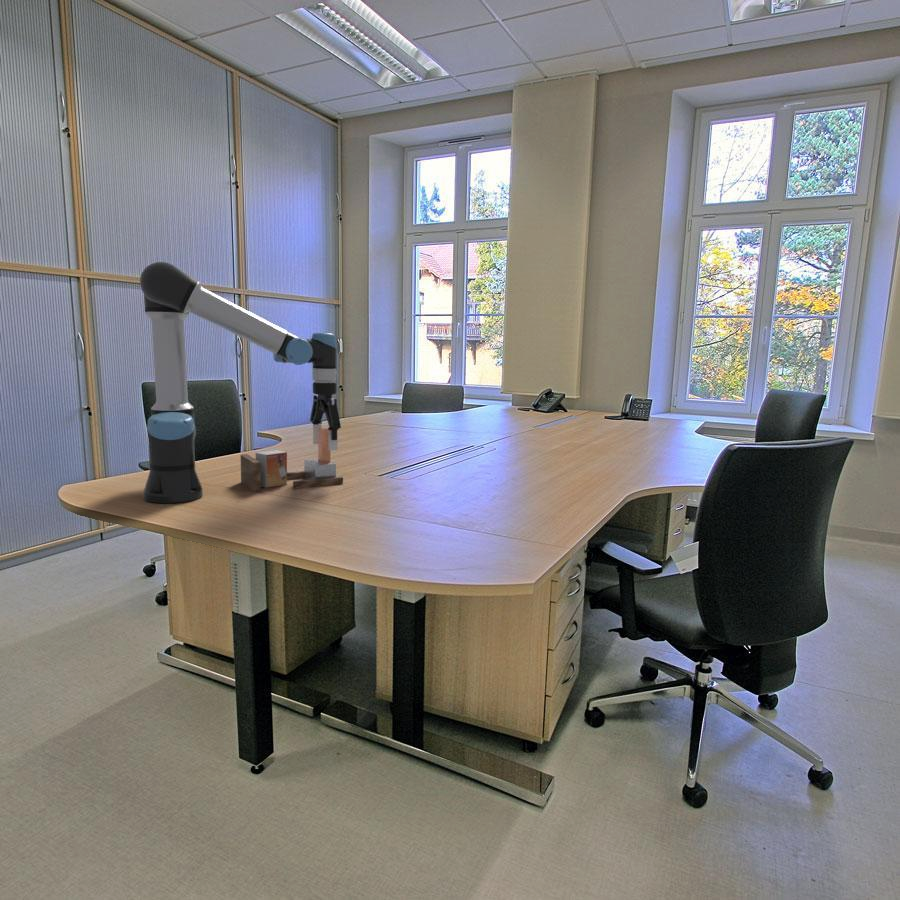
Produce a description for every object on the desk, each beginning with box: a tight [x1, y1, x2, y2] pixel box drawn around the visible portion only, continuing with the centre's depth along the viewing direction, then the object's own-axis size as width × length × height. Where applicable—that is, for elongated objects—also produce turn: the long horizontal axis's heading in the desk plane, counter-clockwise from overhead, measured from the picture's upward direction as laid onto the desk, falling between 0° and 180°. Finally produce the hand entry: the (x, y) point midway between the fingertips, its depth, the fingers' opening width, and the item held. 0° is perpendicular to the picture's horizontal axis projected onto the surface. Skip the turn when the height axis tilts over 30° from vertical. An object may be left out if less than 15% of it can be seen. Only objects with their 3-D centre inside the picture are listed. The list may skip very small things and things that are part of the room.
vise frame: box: [240, 453, 344, 493], centre depth 192 cm, size 28×15×9 cm, turn 123°
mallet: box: [303, 427, 337, 480], centre depth 197 cm, size 7×10×17 cm
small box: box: [255, 449, 288, 489], centre depth 188 cm, size 8×6×10 cm
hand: (325, 446), depth 197 cm, fingers open, 13 cm apart
